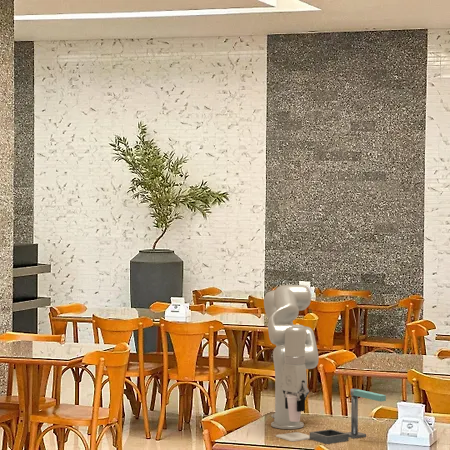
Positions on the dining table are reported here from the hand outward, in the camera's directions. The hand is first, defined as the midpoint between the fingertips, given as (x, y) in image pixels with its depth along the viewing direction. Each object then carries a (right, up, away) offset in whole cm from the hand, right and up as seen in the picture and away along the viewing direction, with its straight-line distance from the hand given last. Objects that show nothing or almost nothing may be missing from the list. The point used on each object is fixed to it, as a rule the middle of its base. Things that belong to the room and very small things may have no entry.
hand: (294, 409), depth 368 cm
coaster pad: (0, -10, 0) cm, 10 cm away
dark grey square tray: (+12, -10, -4) cm, 16 cm away
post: (+22, -10, +3) cm, 25 cm away
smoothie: (0, -4, 0) cm, 4 cm away
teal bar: (+26, +5, -4) cm, 27 cm away
